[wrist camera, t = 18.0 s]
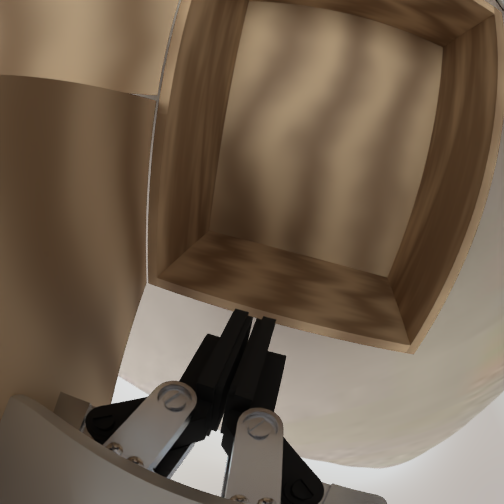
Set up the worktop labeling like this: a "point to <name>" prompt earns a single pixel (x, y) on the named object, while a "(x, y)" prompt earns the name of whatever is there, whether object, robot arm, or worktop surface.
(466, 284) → the worktop surface
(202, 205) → the carton
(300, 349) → the worktop surface
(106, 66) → the flap
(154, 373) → the worktop surface
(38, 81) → the flap
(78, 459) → the robot arm
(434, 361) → the worktop surface
